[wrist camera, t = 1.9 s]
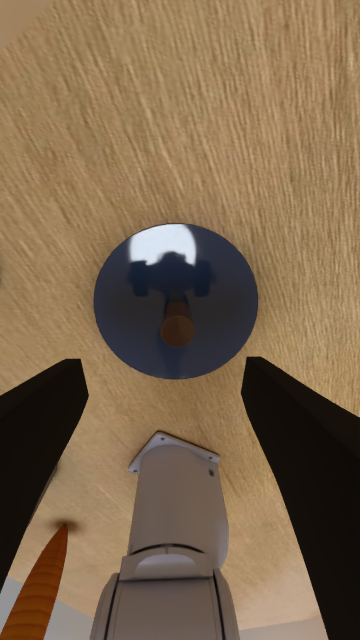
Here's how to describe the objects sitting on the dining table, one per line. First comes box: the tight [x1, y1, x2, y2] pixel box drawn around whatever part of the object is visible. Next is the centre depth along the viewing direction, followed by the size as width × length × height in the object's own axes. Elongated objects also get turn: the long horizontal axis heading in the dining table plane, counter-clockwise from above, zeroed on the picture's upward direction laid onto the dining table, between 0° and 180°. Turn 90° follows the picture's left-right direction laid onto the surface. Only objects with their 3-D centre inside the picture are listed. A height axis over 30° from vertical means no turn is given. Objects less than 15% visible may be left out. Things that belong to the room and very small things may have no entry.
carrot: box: [0, 525, 68, 640], centre depth 24 cm, size 5×5×15 cm
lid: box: [94, 223, 258, 379], centre depth 15 cm, size 14×14×5 cm
